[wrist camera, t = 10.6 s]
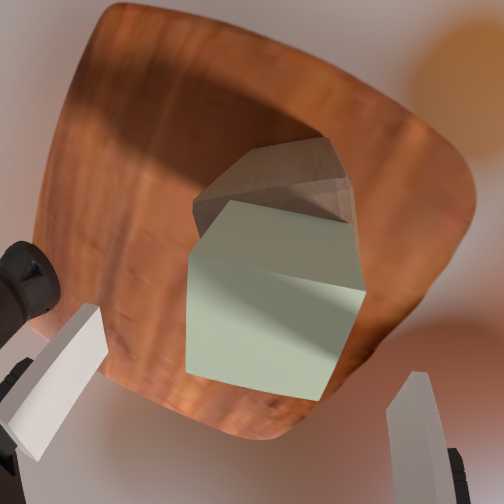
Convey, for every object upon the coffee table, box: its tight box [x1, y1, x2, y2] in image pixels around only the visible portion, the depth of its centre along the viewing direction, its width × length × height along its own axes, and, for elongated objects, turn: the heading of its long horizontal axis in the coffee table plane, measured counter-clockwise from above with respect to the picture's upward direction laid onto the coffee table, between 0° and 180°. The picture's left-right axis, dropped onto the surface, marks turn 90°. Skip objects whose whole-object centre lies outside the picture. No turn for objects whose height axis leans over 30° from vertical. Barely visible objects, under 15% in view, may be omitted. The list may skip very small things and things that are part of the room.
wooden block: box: [192, 137, 361, 266], centre depth 29 cm, size 10×10×20 cm
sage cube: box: [186, 200, 366, 401], centre depth 17 cm, size 7×7×7 cm
